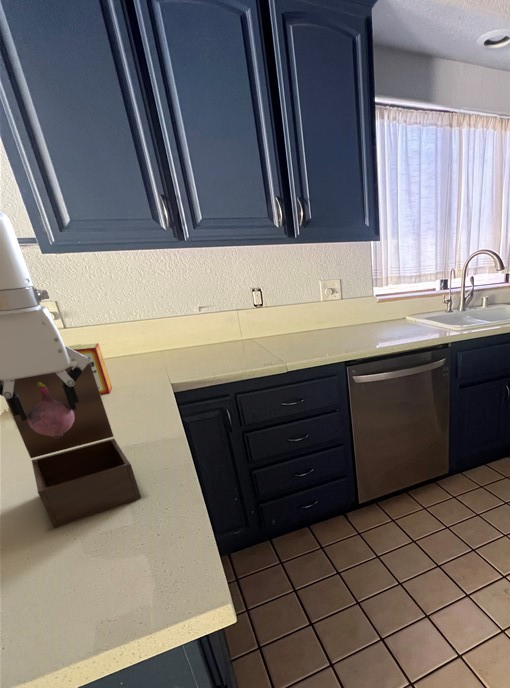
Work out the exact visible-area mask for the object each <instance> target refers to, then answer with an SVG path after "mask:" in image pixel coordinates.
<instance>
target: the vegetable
mask: <svg viewBox="0 0 510 688" xmlns="http://www.w3.org/2000/svg"><path fill="white" fill-rule="evenodd" d="M38 384H40V385H38ZM37 385H38V386H39V387H40V390H41V393H42V400H41V402H40V403H39V404H37V405H36V406H34V407H33V408H32V409H31V410H30V412H29V414H28V418H27V420H28V424H29V426H30V427H31V428H32V429H33V430H34V431H36V432H37V433H39V434H42V435H47V436H51V437H53V438H56V437H59V436H62V435H63V433H65V432H66V431H68V430H69V429H70V428H71V426H72V424H73V422H74V413H73V411H72V409H71V408H70V407H69V406H67V405H65V404H64V403H61V402H58V401H53V399H52V398H51V396H50V394H49V392H48V390H47V387H46V386H45V385H43V384H42V383H41V382H38V383H37ZM60 438H62V437H60Z"/></svg>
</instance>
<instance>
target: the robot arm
mask: <svg viewBox="0 0 510 688" xmlns="http://www.w3.org/2000/svg"><path fill="white" fill-rule="evenodd" d="M49 299H50V296H49V293H48V291H47V289H38V288H35V286H34V285H33V281H32V278H31V274H30V272H29V270H28V267H27V264H26V261H25V258H24V256H23V253H22V250H21V247H20V244H19V241H18V238H17V235H16V232H15V230H14V227H13V225H12V222H11V220H10V218H9V217H8V215H7V214H6V213H5V212H3V211H1V210H0V380H3V384H2V385H1V384H0V396H2V397H3V399H5V398H7V400H8V402H9V405H10V407H11V410H12V412H13V414H14V416H17V415H20V417H21V420H22V421H25V420H26V419H27V416H26V413H25V411H24V408H23V406H22V404H21V401H20V399H19V396H18V394H16V393H15V391H14V382H15V379H20V378H25V377H31V376H37V375H43V374H48V373H54V372H55V373H56V374H57V375H58V376H59V377H60V378H61V379H62V380H63V381H62V382H63V385H62V387H63V390H64V393H65V395H66V398H67V401H68V404H69V406H70V408H71V409H73V410H75V409H77V408H76V406H75V403H77V402H79V400H78V397H77V394H76V392H75V389H74V386H73V385H74V384H75V382H76V380H77V379H78V377H79V376H80V375H81V373H82V371H83V370H84V369H85V367H86V366H87V365H88V363H89V359H88V358H87V357H85V356H84V355H82V354H80V353H78V352H76V351H74V350H72V349H71V348H69V347H67V346H68V345H65V343H64V340H63V338H62V336H61V334H60V332H59V329H58V326H57V325H56V323H55V321H54V318H53V316H52V313H50V311H49V309H48V308H47V306H43V305H41V303H42V301H45V300H49ZM68 356H69V357H71V358H72V359H74V360H76V364H75V365H74V367H72V369H71V370H70V371H69V373H67V372H66V371H65V369H67V368H68V367H69V366H70V360H69V357H68Z"/></svg>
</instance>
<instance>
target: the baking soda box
mask: <svg viewBox="0 0 510 688" xmlns="http://www.w3.org/2000/svg"><path fill="white" fill-rule="evenodd" d="M66 346H67V347H69V348H71V349H72V350H74V351H76V352H78V353H80V354H82V355H84V356H85V357H87V358H88V359H89V363H90V365H91V368H92V371H93V374H94V377H95V380H96V383H97V386H98V389H99V393H100V396H102V395H107V394H108V395H109V394H111V392H112V389H113V385H112V382H111V379H110V376H109V372H108V369H107V366H106V363H105V359H104V357H103V353H102V350H101V346H100V344H99V343H97V342H96V343H86V344H82V343H79V344H73V345H66ZM68 357H69V356H68ZM69 360H70V366H74V365H75V364H76V360H74V359H72V358H71V357H69Z"/></svg>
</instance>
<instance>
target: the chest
mask: <svg viewBox="0 0 510 688" xmlns="http://www.w3.org/2000/svg"><path fill="white" fill-rule="evenodd" d="M31 464H32V469H33V473H34V474H33V475H34V479H35V484H36V489H37V493H38V496H39V498H40V500H41V502H42V505H43V507H44V509H45V512H46V514H47V516H48V518H49V521H50V523H51V526H52V528H53V529H55V528H58V527H62V526H64V525H67V524H70V523H73V522H76V521H79V520H82V519H84V518H87V517H90V516H93V515H95V514H98V513H101V512H104V511H108V510H110V509H113V508H116V507H119V506H122V505H125V504H128V503H130V502H134V501H136V500H139V499H141V498H142V496H141V492H140V489H139V486H138V483H137V480H136V479H137V478H136V476H135V473H134V470H133V466H132V464H131V462H130V460H129V459H128V457H127V456H126V454H125V453H124V451H123V450H122V448H121V446H120V445H119V444H118V441H117V440H116V439H115V438H114V437H112V438H108V439H104V440H100V441H97V442H93V443H89V444H85V445H82V446H78V447H74V448H70V449H66V450H63V451H61V452H60V451H59V452H55V453H51V454H48V455H44V456H40V457H36V458H33V459H31Z"/></svg>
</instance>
